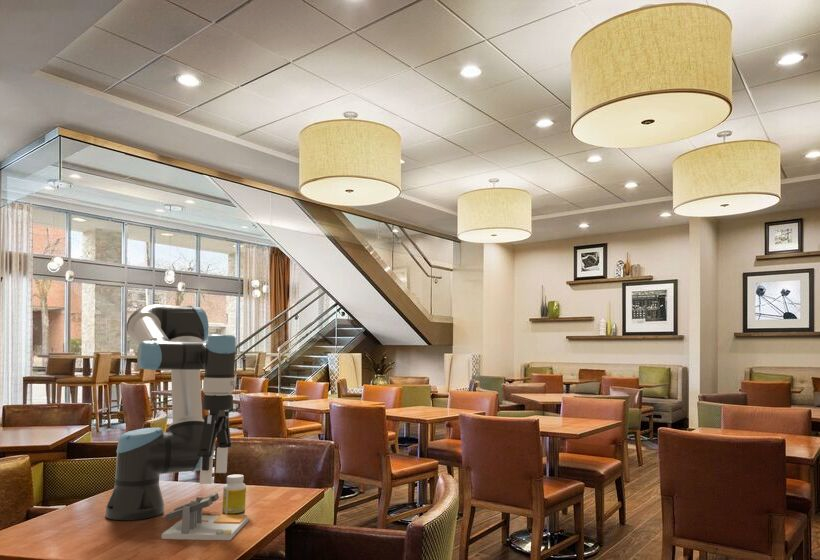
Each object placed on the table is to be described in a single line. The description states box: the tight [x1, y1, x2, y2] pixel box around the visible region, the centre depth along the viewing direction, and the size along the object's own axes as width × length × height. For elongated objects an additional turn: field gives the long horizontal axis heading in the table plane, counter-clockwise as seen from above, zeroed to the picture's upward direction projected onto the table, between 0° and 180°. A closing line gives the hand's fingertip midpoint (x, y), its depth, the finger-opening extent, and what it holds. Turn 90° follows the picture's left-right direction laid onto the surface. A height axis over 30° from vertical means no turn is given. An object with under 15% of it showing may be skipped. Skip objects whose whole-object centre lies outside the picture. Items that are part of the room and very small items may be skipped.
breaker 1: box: [165, 497, 214, 521], centre depth 155 cm, size 11×3×2 cm, turn 91°
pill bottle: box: [222, 473, 247, 515], centre depth 174 cm, size 6×6×11 cm
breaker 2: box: [173, 492, 220, 511], centre depth 160 cm, size 11×3×2 cm, turn 91°
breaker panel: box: [161, 496, 250, 541], centre depth 160 cm, size 17×18×8 cm
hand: (213, 478), depth 157 cm, fingers open, 13 cm apart
